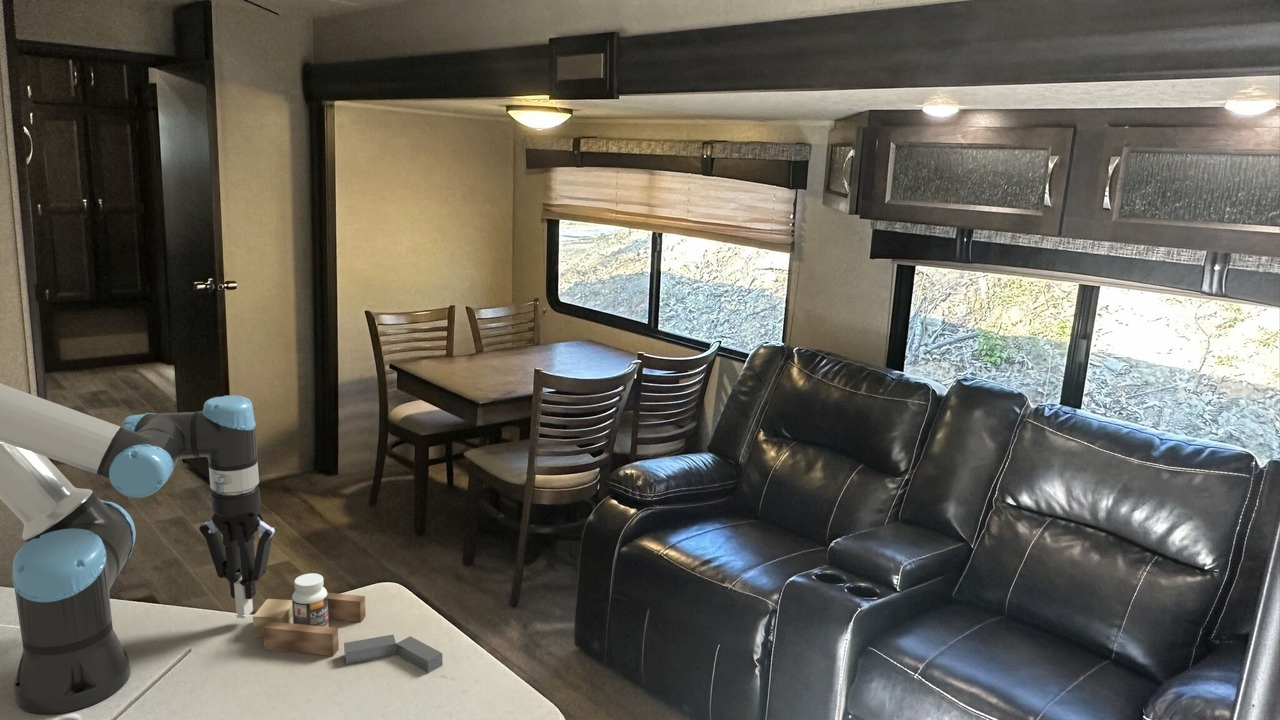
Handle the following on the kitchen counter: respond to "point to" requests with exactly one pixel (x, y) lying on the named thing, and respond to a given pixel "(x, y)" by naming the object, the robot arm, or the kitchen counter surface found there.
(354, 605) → the channel
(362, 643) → the v block
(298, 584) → the pill bottle
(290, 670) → the kitchen counter surface
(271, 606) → the block
